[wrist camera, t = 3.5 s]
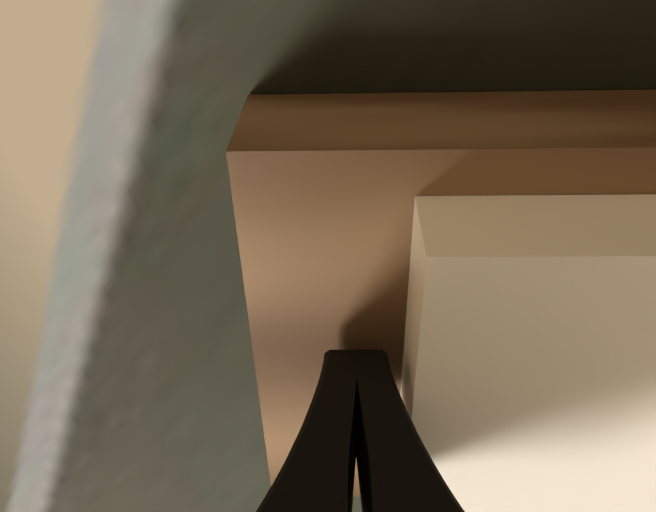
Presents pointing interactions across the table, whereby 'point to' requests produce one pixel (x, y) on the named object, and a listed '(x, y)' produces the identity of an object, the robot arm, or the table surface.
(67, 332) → the table surface
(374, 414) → the robot arm
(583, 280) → the cream rectangular block
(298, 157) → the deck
